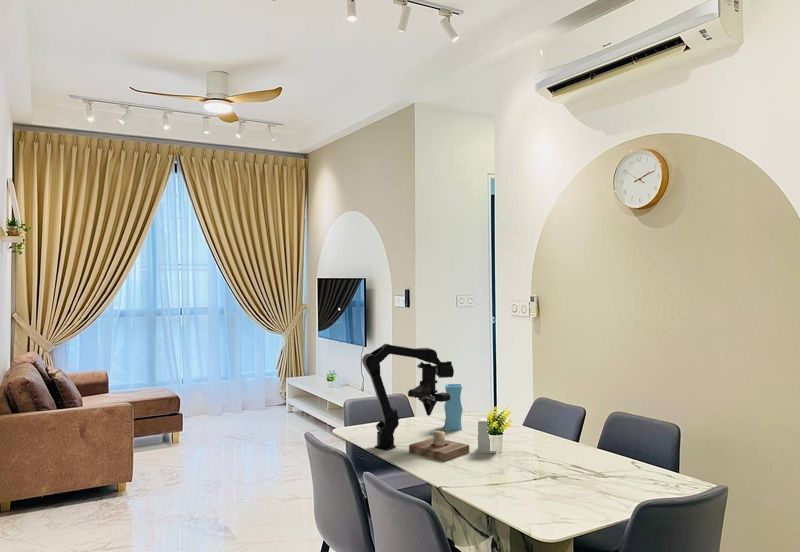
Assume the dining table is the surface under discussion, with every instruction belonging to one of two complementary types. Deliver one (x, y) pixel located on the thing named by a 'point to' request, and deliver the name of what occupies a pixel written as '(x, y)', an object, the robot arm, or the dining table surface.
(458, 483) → the dining table surface
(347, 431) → the dining table surface
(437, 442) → the beech peg
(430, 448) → the walnut board
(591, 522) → the dining table surface
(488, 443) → the supplement box
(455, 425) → the vase
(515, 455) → the dining table surface
